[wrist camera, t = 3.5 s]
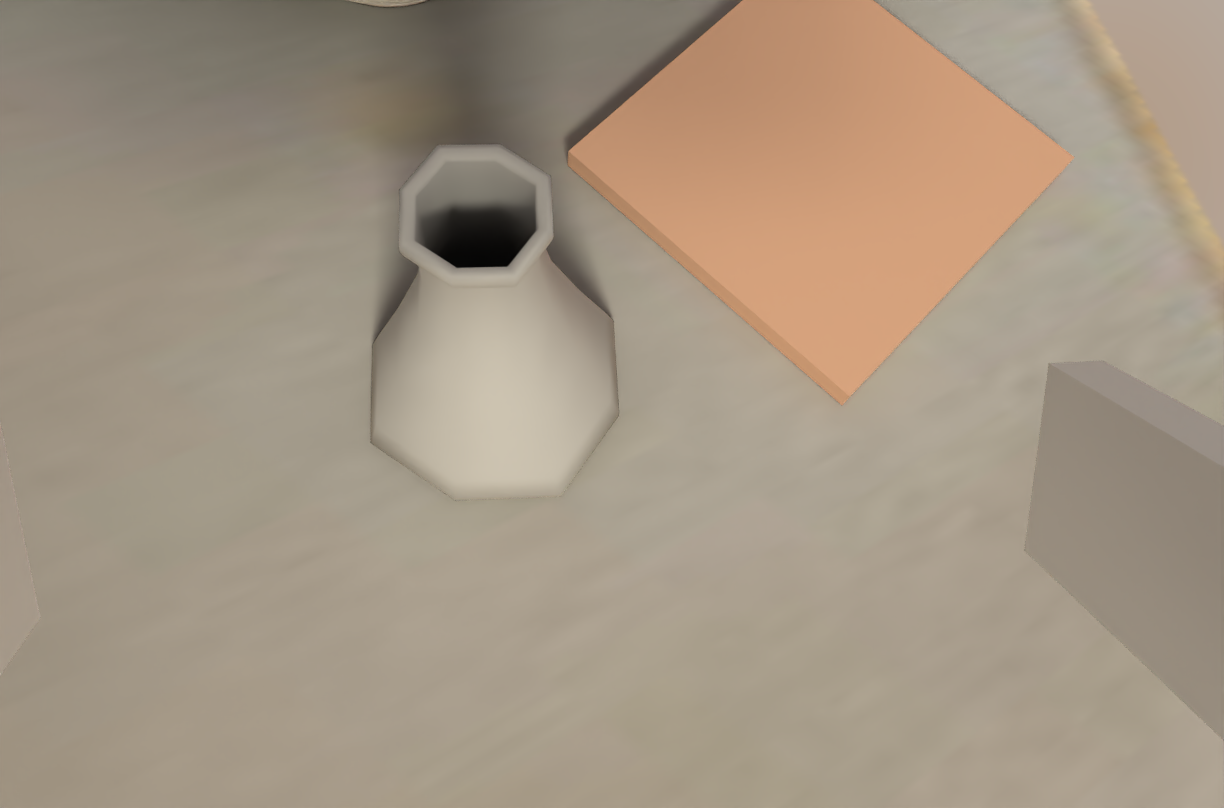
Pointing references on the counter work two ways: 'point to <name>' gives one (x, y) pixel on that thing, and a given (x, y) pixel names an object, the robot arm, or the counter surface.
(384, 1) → the lidded jar
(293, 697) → the counter surface
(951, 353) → the counter surface
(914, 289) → the coaster
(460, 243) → the flask
